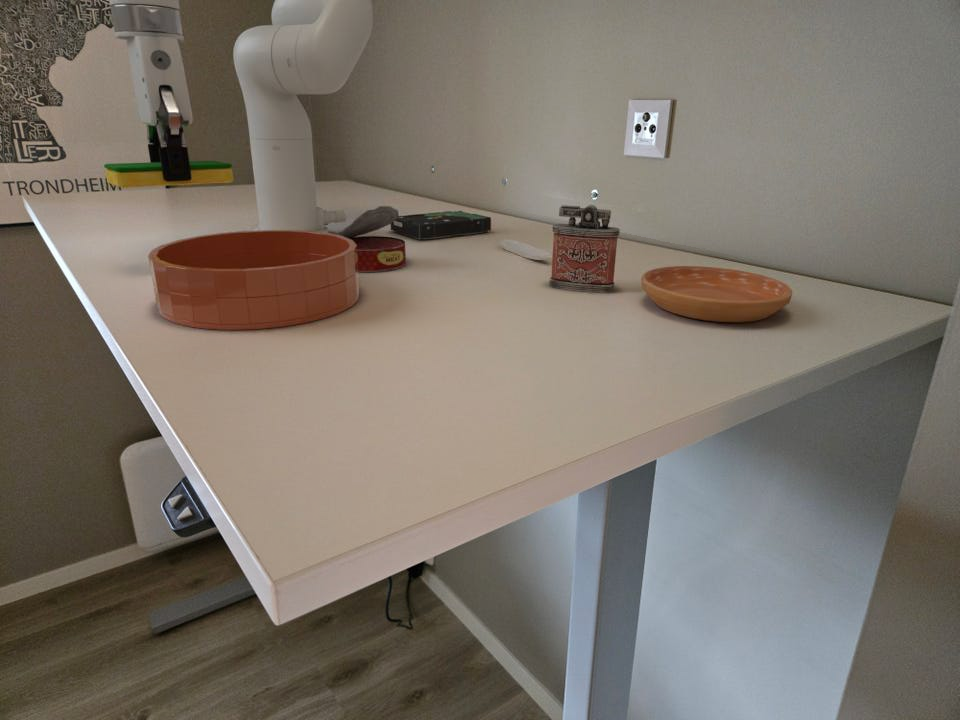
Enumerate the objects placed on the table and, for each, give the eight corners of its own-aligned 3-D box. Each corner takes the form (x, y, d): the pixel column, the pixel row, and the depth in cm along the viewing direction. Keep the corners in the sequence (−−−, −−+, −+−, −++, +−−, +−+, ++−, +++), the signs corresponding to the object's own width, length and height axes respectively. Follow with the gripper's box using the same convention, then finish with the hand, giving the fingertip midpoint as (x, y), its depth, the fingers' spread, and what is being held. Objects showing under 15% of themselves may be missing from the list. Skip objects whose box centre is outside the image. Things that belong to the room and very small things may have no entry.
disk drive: (420, 242, 107) (492, 232, 115) (420, 225, 106) (492, 216, 114) (389, 232, 114) (458, 223, 123) (388, 216, 113) (458, 208, 122)
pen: (545, 266, 91) (546, 254, 91) (498, 247, 103) (498, 237, 102) (555, 265, 92) (555, 253, 91) (507, 246, 103) (507, 236, 103)
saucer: (738, 286, 82) (742, 263, 81) (820, 325, 68) (826, 298, 67) (618, 290, 80) (620, 266, 79) (676, 332, 65) (680, 303, 64)
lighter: (615, 287, 81) (623, 205, 77) (611, 294, 78) (619, 209, 75) (552, 281, 84) (557, 201, 80) (546, 287, 81) (550, 205, 77)
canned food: (353, 304, 88) (313, 243, 83) (351, 278, 97) (314, 221, 92) (426, 265, 88) (390, 200, 83) (417, 242, 97) (384, 183, 92)
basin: (319, 268, 88) (315, 224, 86) (390, 308, 71) (388, 254, 69) (143, 291, 77) (134, 240, 75) (180, 344, 60) (170, 281, 58)
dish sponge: (234, 182, 86) (232, 163, 86) (119, 188, 78) (115, 167, 77) (216, 178, 92) (214, 160, 91) (106, 183, 83) (103, 163, 82)
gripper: (197, 22, 74) (218, 183, 80) (168, 34, 87) (188, 171, 93) (123, 16, 70) (151, 186, 76) (105, 30, 83) (130, 173, 89)
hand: (171, 176), depth 85 cm, fingers closed on dish sponge, 7 cm apart
